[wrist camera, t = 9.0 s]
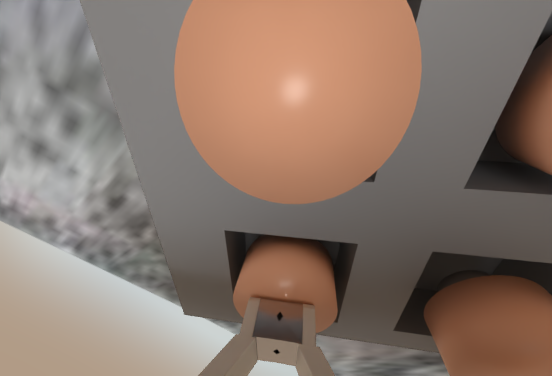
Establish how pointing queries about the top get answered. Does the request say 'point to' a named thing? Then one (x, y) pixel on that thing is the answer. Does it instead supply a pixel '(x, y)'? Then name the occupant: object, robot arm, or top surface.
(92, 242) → the top surface
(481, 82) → the console
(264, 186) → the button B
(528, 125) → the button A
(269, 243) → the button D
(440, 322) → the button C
